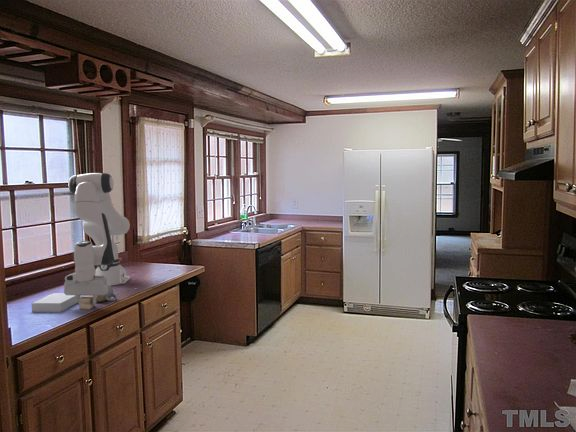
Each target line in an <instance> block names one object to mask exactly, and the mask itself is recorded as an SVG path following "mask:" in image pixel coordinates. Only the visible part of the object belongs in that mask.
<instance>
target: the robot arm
mask: <svg viewBox="0 0 576 432" xmlns="http://www.w3.org/2000/svg"><path fill="white" fill-rule="evenodd" d="M68 189H69V191H70V193H71V194H73V195H74V214H75V215H76V216H77V218H78V219H80V220H81V221H83V223H82V230H83V232H84V233H85V234H86V235H87V236H89V237H90V238H91V240H93V242H94V244H95V245H93V242H92V241H90V240H80V241H78V242H76V243H75V244H74V250H73V252H72V257H73V259H72V261H73V263H74V264H75V265H74V266H75V267H74V272H72V273H70V274H68V275H66V276H65V277H64V280H65V281H64V283H63V293H65V295H75V298H76V299H77V301H78V303H77V304H78V305H79V298H81V296H93V298H94V299H93V300H92V301H91V304H95V305H96V303H97V301H96V299H97V297H98V295H106V294H107V293H108V286H107V284H109V285H110V286H111V287H112V286H117V285H122V284H126V283H127V282H128V281H129V280H130V279H131V276H128V275H127V273H126V268H124V267H123V265H121V261H122V257H119V247H118V245H117V243H116V242H114V241H112V237H111V236H121V235H125V234H127V233H128V232H129V230H130V226H131V225H130V221H129V219H128V218H127V217H126V216H123V215H122V214H121V213H119V212H118V211H117V210H116V209H115V207H114V204H113V201H112V198H111V194H110V193H111V192H112V191H113V189H114V179H113V177H112V175H111V174H110V173H107V172H102V173H101V172H90V173H83V174H74V175H72V176H70V177H69V179H68ZM95 266H96V267H97V268H95Z"/></svg>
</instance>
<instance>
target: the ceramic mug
mask: <svg viewBox="0 0 576 432" xmlns="http://www.w3.org/2000/svg"><path fill="white" fill-rule="evenodd" d="M107 286H108V293H107V294H106V295H98V297H97V299H96V302H98V303H102V302H105V301H106V300H107V301H109V302H114V301H116V300H117V299H118V296H117V295H116V294H115V293H114V288H113V286H112V285H111V286H110V285H109V284H107ZM112 297H113V298H112Z"/></svg>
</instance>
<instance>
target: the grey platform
mask: <svg viewBox="0 0 576 432" xmlns="http://www.w3.org/2000/svg"><path fill="white" fill-rule="evenodd" d="M77 304H78V301H77V299H76V298H75V295H65V293H64V292H62V293H61V292H60V293H59V292H53V293H51V294H49V295H46V296H44V297H41V298H40V299H38V300H35V301H34V302H32V303H31V312H34V313H35V312H38V313H39V312H43V313H44V312H45V313H48V312H51V313H59V312H60V313H61V311H62V312H63V311H65V310H67V309H69V308H71V307H72V306H75V305H77Z"/></svg>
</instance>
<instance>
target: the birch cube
mask: <svg viewBox="0 0 576 432" xmlns="http://www.w3.org/2000/svg"><path fill="white" fill-rule="evenodd" d="M93 299H94V298H93V295H82V296H80V298H79V304H78V305H79V306H78V308H79V310H91V309H92V308H94V307H95V306H96V304H91V301H92V300H93Z"/></svg>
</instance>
